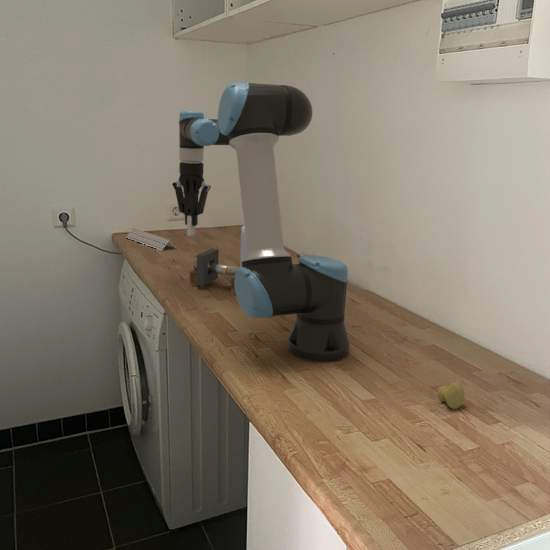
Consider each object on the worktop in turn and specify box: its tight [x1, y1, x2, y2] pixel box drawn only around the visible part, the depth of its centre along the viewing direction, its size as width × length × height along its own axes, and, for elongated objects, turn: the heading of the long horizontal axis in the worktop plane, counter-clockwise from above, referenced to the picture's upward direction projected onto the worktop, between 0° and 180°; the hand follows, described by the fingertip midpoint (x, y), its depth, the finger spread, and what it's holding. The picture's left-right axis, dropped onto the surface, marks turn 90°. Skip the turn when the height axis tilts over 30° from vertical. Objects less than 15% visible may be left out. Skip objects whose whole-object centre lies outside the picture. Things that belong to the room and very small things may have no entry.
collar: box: [196, 248, 219, 287], centre depth 187 cm, size 2×10×10 cm, turn 157°
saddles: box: [189, 269, 236, 295], centre depth 187 cm, size 18×7×5 cm, turn 67°
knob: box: [437, 382, 465, 410], centre depth 117 cm, size 5×5×5 cm
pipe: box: [192, 260, 241, 277], centre depth 186 cm, size 18×3×3 cm, turn 67°
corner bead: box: [125, 227, 178, 252], centre depth 244 cm, size 29×9×5 cm, turn 43°
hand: (191, 235), depth 187 cm, fingers closed
